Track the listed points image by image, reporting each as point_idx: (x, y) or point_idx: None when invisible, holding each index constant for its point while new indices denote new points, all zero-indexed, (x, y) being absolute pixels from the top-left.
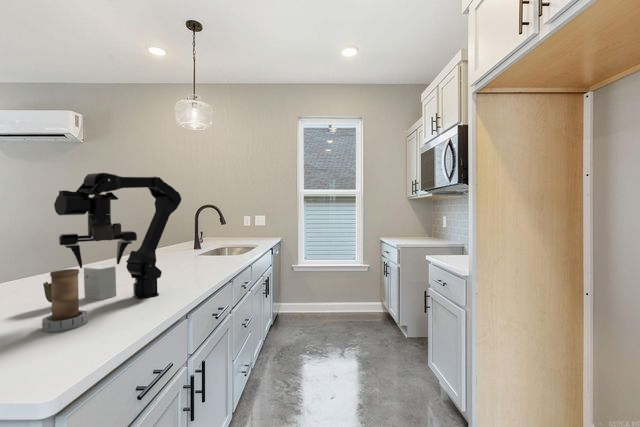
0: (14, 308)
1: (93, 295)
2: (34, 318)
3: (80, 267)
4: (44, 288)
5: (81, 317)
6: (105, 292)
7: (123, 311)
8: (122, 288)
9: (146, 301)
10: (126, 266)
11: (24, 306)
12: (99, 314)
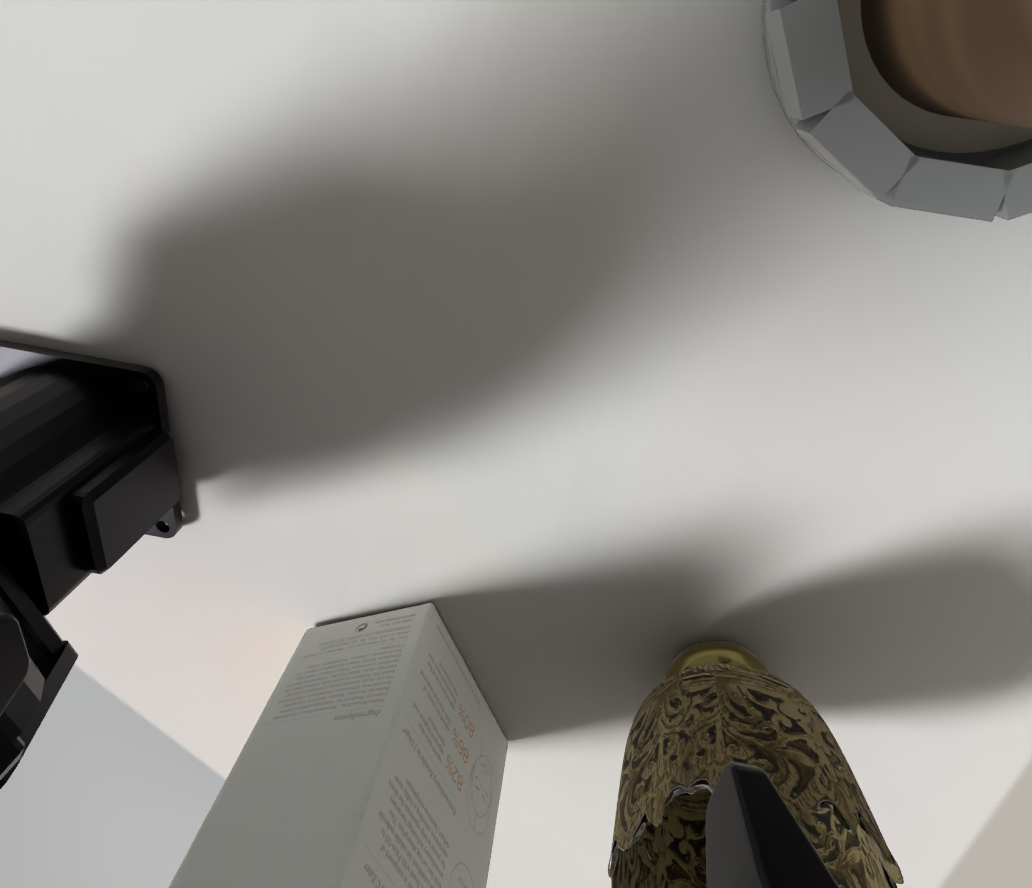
0: (914, 845)
1: (462, 693)
2: (986, 511)
3: (768, 776)
4: (879, 855)
5: None
6: (378, 650)
7: (363, 17)
8: None
9: (102, 227)
10: (3, 770)
11: None
12: (582, 132)
